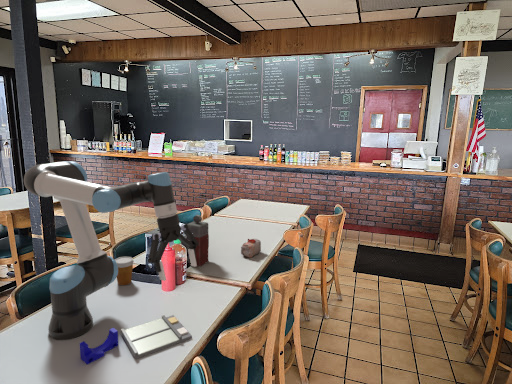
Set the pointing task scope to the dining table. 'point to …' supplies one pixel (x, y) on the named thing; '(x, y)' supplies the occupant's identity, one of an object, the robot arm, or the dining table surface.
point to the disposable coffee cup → (124, 270)
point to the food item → (251, 248)
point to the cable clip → (99, 347)
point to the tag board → (155, 336)
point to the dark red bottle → (200, 239)
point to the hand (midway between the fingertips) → (179, 272)
